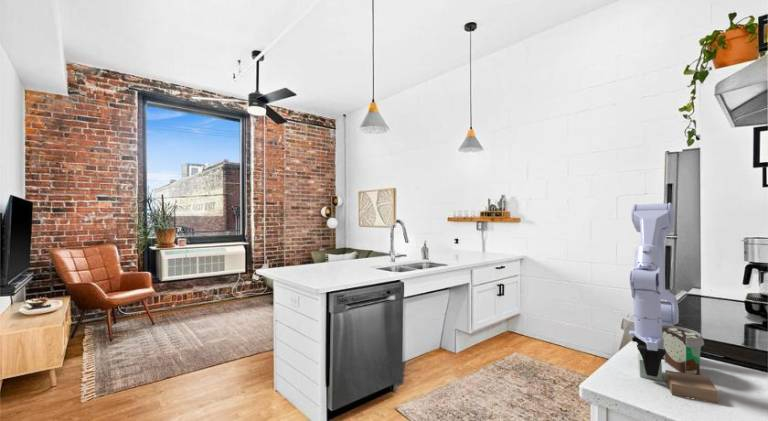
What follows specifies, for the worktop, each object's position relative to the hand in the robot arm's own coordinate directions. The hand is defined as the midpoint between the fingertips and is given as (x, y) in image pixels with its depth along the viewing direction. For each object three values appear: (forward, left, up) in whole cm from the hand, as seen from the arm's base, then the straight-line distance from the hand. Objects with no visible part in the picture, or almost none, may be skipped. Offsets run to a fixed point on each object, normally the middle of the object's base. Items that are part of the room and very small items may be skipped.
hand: (649, 369), depth 93 cm
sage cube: (0, 0, -2) cm, 2 cm away
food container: (-8, +9, -2) cm, 12 cm away
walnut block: (+6, +7, -2) cm, 9 cm away
